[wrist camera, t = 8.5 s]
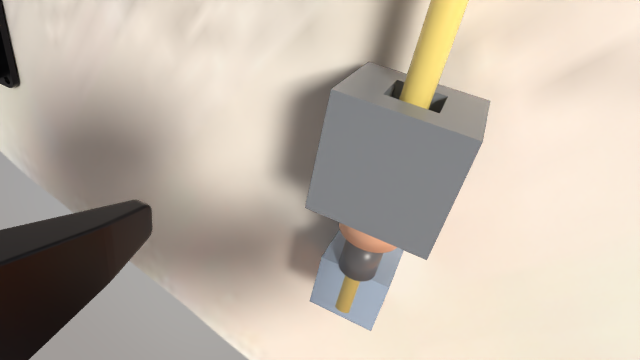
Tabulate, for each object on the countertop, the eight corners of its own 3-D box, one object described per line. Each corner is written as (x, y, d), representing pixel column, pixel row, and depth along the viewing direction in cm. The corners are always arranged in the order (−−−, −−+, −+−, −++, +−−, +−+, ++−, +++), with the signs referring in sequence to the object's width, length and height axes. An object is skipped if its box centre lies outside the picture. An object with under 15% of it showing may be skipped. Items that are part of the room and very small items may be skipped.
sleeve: (443, 203, 18) (426, 259, 15) (341, 163, 19) (305, 207, 16) (490, 101, 16) (482, 141, 12) (368, 61, 17) (331, 89, 13)
